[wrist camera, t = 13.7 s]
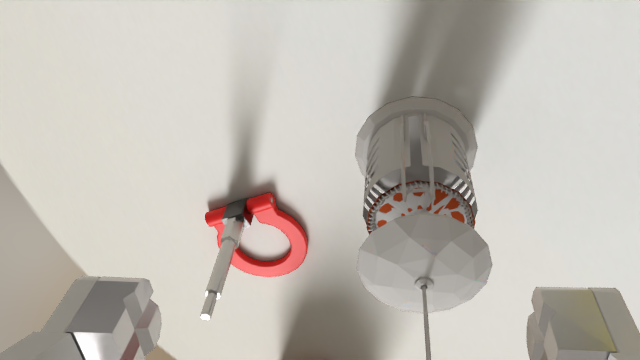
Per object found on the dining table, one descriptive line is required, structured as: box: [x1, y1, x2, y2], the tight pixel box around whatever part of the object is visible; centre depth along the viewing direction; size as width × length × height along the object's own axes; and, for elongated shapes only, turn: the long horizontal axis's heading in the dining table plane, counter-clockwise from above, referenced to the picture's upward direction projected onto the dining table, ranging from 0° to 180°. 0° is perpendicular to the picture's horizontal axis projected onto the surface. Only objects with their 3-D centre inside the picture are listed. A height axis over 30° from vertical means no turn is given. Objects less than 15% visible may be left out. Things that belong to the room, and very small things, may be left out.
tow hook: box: [200, 192, 308, 320], centre depth 47 cm, size 8×13×9 cm
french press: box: [355, 97, 492, 360], centre depth 35 cm, size 10×12×25 cm
